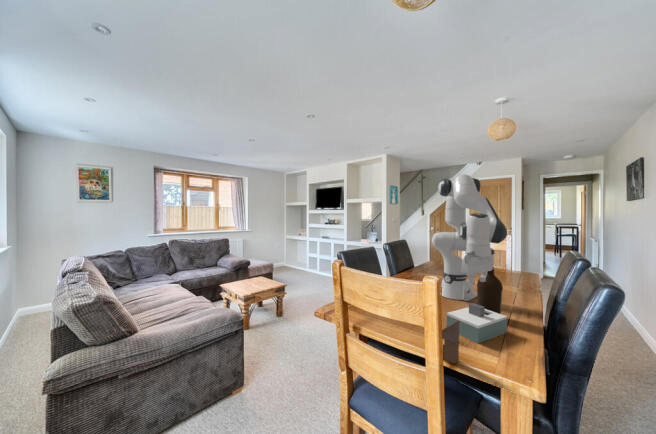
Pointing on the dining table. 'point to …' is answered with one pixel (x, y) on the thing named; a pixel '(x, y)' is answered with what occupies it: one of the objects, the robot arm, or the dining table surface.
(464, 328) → the open box
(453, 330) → the wooden block
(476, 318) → the lid
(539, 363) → the dining table surface
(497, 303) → the olive oil
